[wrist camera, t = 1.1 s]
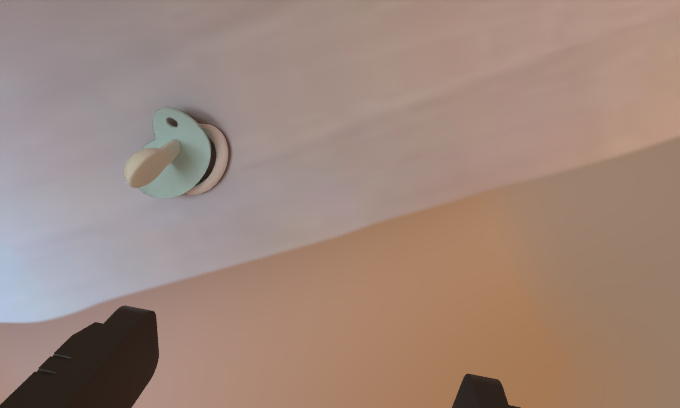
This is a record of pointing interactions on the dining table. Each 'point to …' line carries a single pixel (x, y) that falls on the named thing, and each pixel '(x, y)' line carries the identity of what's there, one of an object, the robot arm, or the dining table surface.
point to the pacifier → (177, 157)
